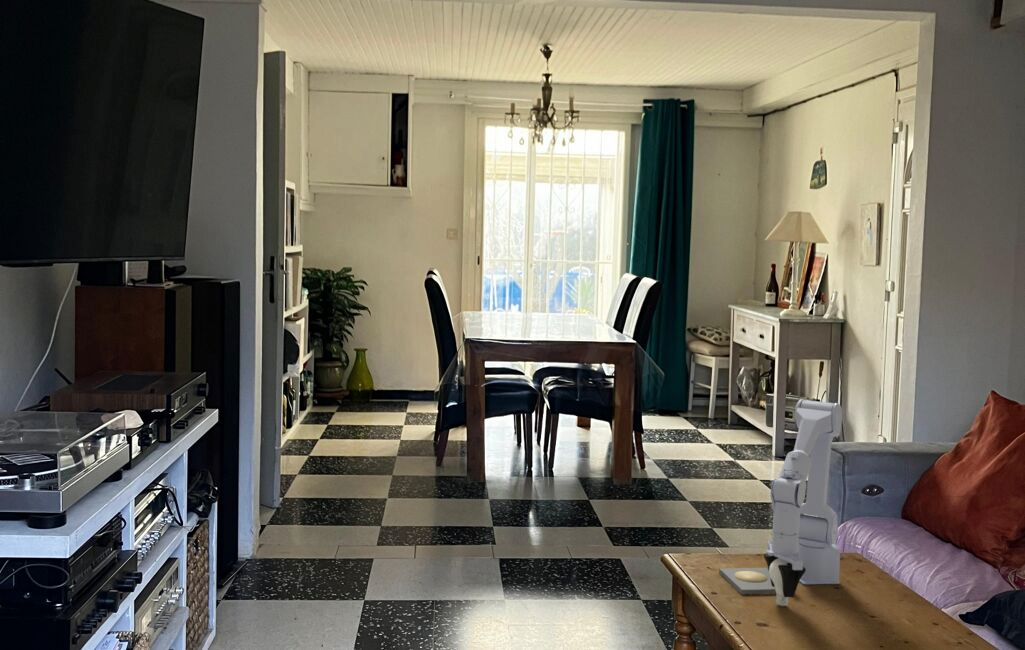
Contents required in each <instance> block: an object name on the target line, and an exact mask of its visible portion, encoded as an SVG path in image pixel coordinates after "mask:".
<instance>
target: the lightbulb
mask: <svg viewBox="0 0 1025 650" xmlns="http://www.w3.org/2000/svg"><path fill="white" fill-rule="evenodd" d="M778 565H787V562H786V561H785V560H783V559H780V558H777V559H775V560H774V561H773V562H772V563H771V565H770V567H769V575H770V578H771V580H772V582H773V583H774V586H775V591H776V594H775V595H776V596H775V604H776V605H778V606H779V607H781V608H783V607H786V606H788V605H789V597H784V594H783V583H782V576H781V573H780V570H779V568H778Z"/></svg>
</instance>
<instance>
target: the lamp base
mask: <svg viewBox="0 0 1025 650" xmlns="http://www.w3.org/2000/svg"><path fill="white" fill-rule="evenodd" d="M719 573H720V574H721V575H722V576H723V577H724V579H725V581H726V582H728V584H729V585H731V586H732V588H734V587H735V588H734V589H735V591H737V592H738V593H739V594H740V593H741V594H740V595H741V596H746V595H745V594H750V596H751V595H752V594H760V595H765V594H764V593H775V594H774V595H776V591H775V587H773V586H772V584H771V580H770V575H769V569H768V567H737V568H736V567H733V568H730V567H729V568H727V567H726V568H718V574H719ZM720 574H719V575H720ZM721 575H720V576H721ZM722 576H721V577H722ZM723 577H722V578H723Z"/></svg>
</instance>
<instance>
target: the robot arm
mask: <svg viewBox="0 0 1025 650" xmlns="http://www.w3.org/2000/svg"><path fill="white" fill-rule="evenodd" d="M794 419H795V422H796V427H797V429H798V431H797V435H796V440H795V444H794V447H793V450H792V451H789V452H788V453H787V454H786V457H785V460H784V462H783V465H782V466H781V467H782V468H781V471H780V473H779V476H778V477H777V478H774V479H773V480H772V482H771V483H772V484H771V487H770V500H771V510H772V511H773V517H772V520H773V521H772V534H771V535H772V537H771V538H772V539H771V541H767V549H766V552H765V553H764V554H763V557H764V560H765V562H766V566H767V568H768V569H769V567H770V565H771V563H772V562H773V561H774V560H775V559H777V558H780V559H783V560H785V561H786V562H787V565H778V568H779V570H780V573H781V576H782V583H783V594H784V597H788V598H794V596H795V594H796V591H797V589H798V586H799V583H800V584H803V585H838V584H839V585H840V584H841V581H840V580H839V579H840V566H841V565H840V564H841V553H840V549H839V547H838V545H837V544H836V542H837V538H838V530H839V526H838V525H839V524H838V515H837V513H836V511H834V510H833V508H831V506H829V504H828V503H827V499H828V491H829V489H828V488H829V477H830V468H831V467H830V465H831V454H832V444H833V439H834V438H835V437H836V438H837V437H839V436H840V435H841V432H842V425H843V424H842V422H843V421H842V420H843V410H842V406H841V404H840V403H838V402H835V403H834V402H827V401H826V402H825V401H817V400H807V399H804V398H801V399H799V400H798V401H797V402H796V405H795V410H794ZM770 580H771V578H770ZM771 584H772V586H773V587H775V586H774V583H773V582H772V580H771Z"/></svg>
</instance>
